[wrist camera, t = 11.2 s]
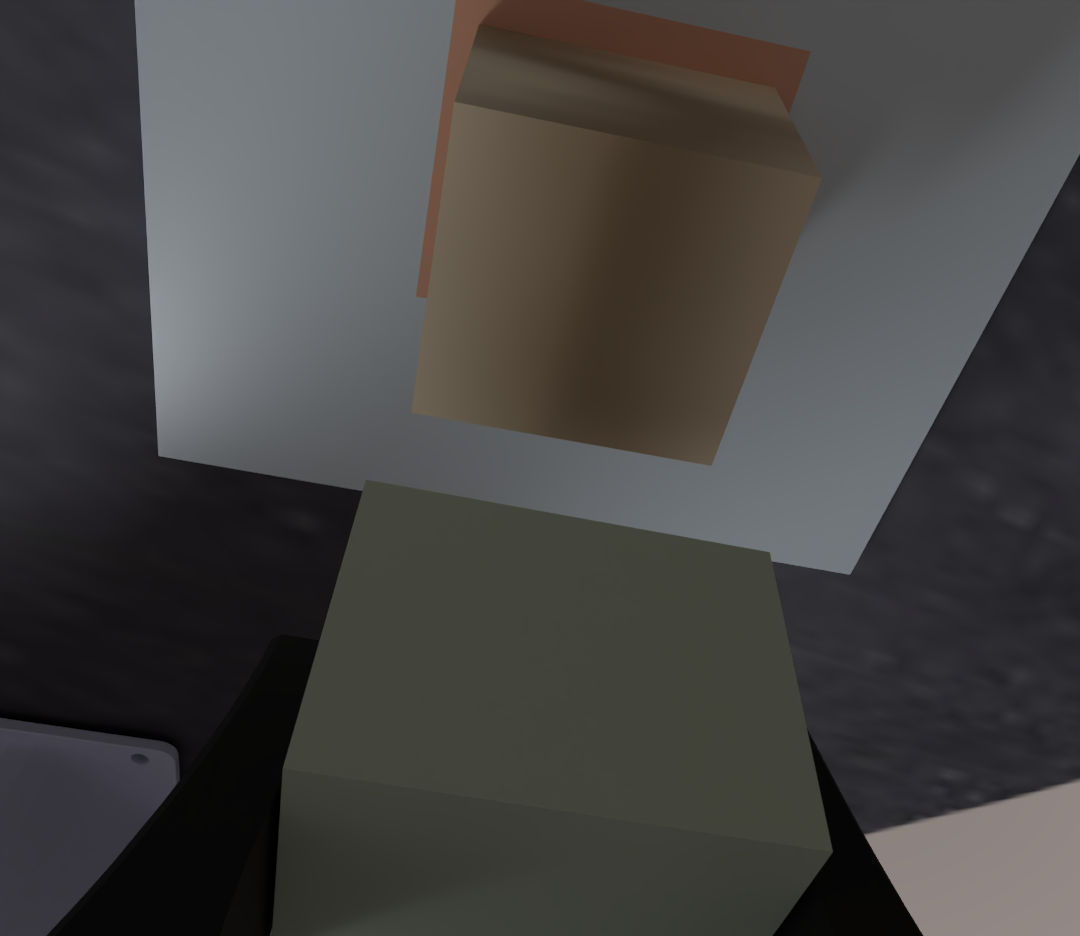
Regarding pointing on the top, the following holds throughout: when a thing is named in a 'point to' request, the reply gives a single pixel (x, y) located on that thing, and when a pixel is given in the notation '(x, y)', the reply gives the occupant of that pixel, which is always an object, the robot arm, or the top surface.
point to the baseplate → (412, 215)
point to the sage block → (545, 734)
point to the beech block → (606, 246)
